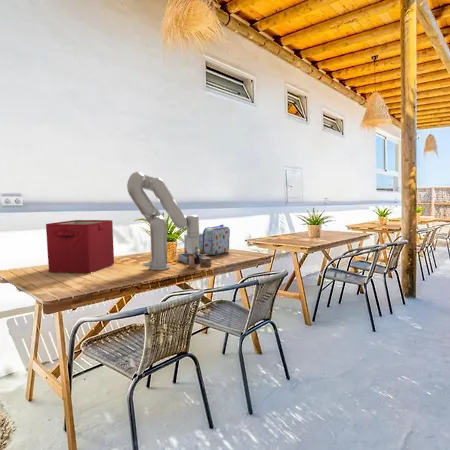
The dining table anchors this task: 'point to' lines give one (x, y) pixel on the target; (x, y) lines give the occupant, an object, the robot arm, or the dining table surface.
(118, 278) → the dining table surface
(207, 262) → the walnut cube
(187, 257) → the tote
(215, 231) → the lunch box
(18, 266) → the dining table surface
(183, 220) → the robot arm
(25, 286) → the dining table surface
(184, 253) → the snack box
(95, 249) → the storage cube
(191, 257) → the terracotta cylinder
